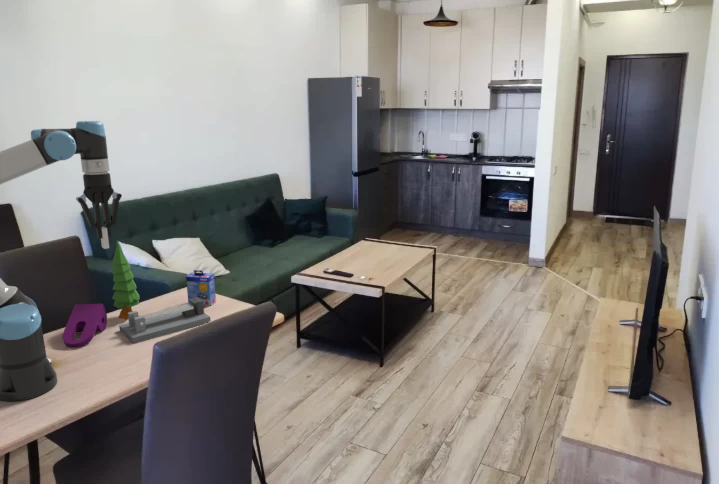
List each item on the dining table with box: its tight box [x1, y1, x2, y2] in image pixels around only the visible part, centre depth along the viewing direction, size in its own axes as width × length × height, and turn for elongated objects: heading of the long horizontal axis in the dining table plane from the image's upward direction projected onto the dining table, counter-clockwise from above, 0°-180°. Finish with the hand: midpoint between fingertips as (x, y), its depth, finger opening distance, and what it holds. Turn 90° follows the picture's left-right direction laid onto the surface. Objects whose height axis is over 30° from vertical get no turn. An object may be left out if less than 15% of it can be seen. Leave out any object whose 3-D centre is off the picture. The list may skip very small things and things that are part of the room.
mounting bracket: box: [61, 303, 108, 348], centre depth 188 cm, size 9×8×18 cm
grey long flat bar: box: [132, 303, 194, 322], centre depth 195 cm, size 21×4×2 cm, turn 131°
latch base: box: [118, 298, 212, 344], centre depth 196 cm, size 28×14×7 cm, turn 131°
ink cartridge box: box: [185, 269, 217, 306], centre depth 217 cm, size 10×6×14 cm, turn 82°
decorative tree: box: [111, 239, 140, 321], centre depth 202 cm, size 10×9×30 cm
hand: (105, 247), depth 171 cm, fingers closed
